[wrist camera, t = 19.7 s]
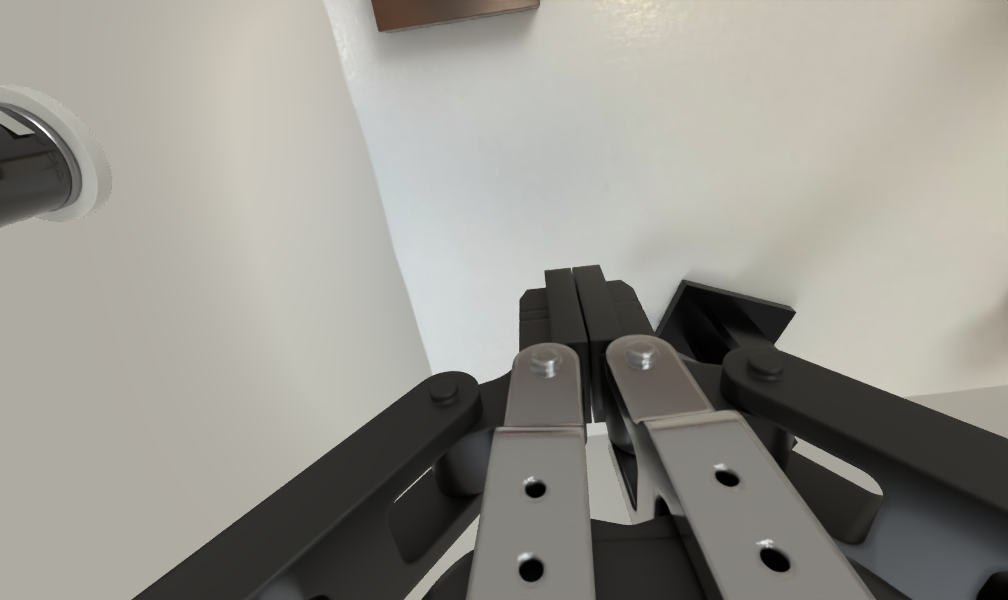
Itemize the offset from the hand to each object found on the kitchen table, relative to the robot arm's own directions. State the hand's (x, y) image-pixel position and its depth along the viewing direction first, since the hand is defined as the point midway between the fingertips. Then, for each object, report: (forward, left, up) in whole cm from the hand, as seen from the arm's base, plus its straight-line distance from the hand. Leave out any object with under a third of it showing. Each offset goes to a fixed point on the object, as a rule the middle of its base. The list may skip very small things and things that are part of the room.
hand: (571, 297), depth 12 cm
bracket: (+17, -22, -29) cm, 40 cm away
